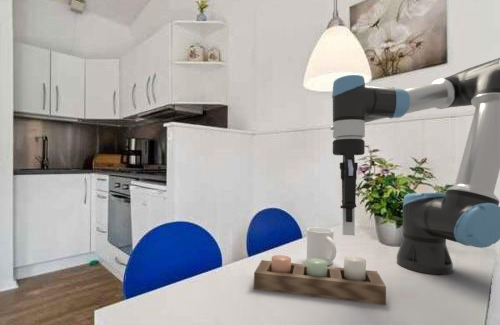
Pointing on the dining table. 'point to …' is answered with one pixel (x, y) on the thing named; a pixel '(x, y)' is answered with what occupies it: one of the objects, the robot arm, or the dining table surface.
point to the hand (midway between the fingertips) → (348, 234)
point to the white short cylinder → (354, 268)
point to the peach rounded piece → (281, 264)
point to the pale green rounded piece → (317, 267)
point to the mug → (321, 244)
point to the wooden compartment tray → (321, 283)
